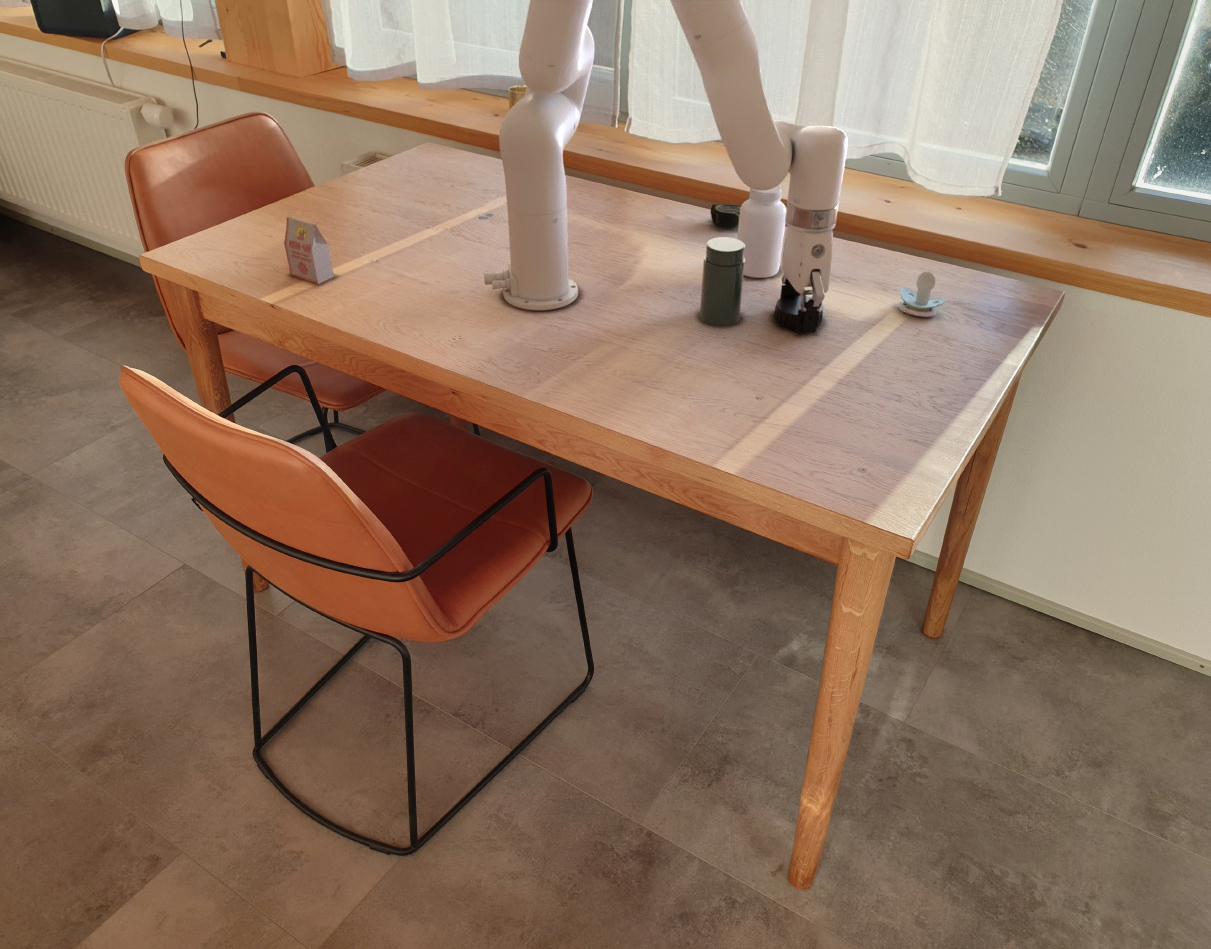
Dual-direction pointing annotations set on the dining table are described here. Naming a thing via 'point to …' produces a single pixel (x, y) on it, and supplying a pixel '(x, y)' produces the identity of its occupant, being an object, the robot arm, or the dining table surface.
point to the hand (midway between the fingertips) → (797, 319)
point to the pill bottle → (762, 232)
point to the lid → (791, 311)
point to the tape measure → (726, 215)
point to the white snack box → (307, 252)
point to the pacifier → (920, 297)
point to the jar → (722, 281)
